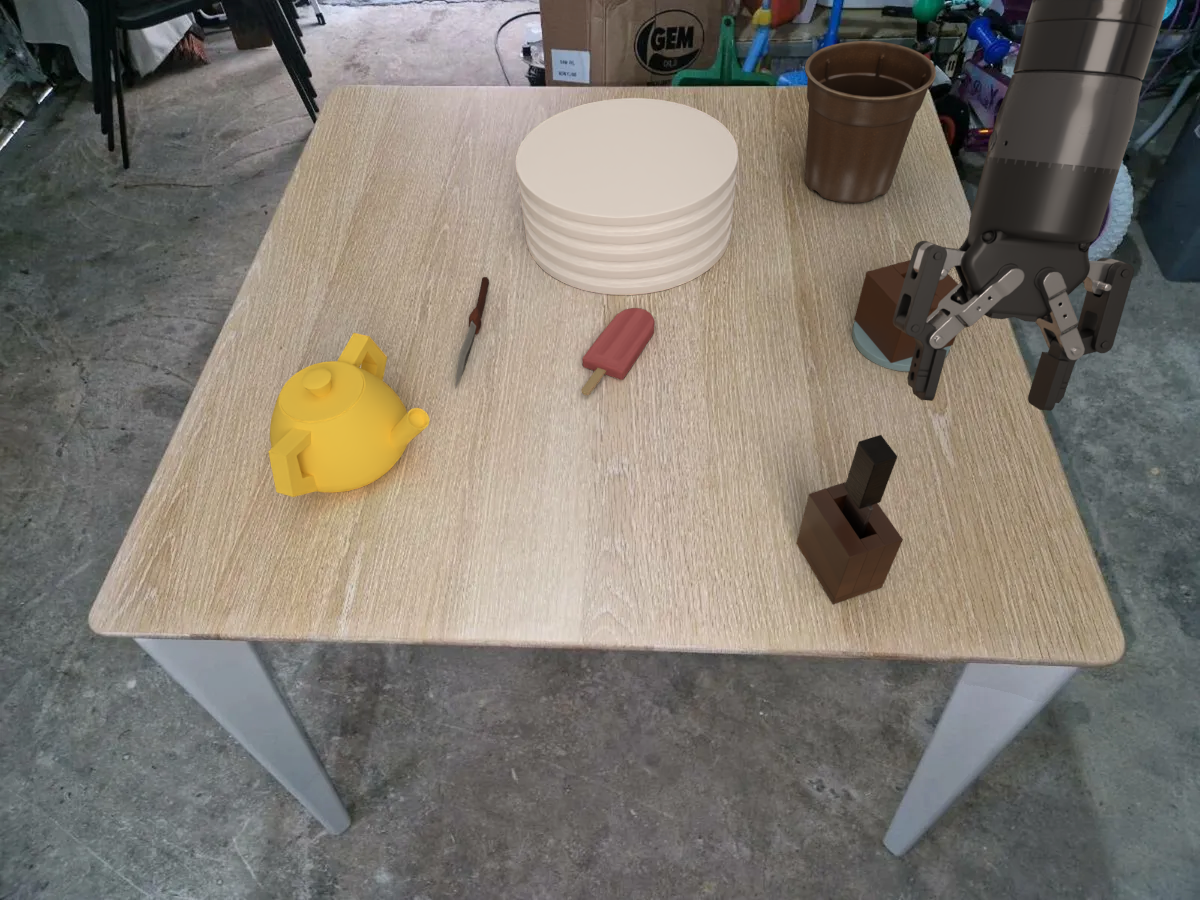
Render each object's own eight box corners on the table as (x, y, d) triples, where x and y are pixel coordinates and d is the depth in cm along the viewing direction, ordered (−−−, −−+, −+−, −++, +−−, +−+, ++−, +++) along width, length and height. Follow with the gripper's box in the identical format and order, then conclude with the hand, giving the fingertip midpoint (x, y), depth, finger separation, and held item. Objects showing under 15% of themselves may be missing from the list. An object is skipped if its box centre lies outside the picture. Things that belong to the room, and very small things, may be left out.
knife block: (842, 527, 77) (859, 477, 70) (881, 587, 72) (903, 539, 66) (795, 543, 76) (808, 493, 70) (832, 604, 71) (849, 557, 65)
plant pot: (783, 151, 120) (798, 40, 107) (892, 148, 119) (921, 36, 106) (795, 214, 109) (814, 99, 97) (915, 212, 108) (949, 96, 96)
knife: (463, 396, 90) (458, 377, 88) (449, 395, 91) (444, 376, 88) (495, 291, 102) (491, 272, 100) (483, 291, 102) (479, 272, 100)
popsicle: (562, 381, 89) (623, 302, 97) (564, 391, 90) (623, 311, 98) (605, 396, 87) (663, 314, 95) (605, 406, 88) (663, 324, 96)
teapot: (403, 545, 78) (373, 477, 69) (241, 509, 82) (194, 440, 73) (478, 400, 90) (460, 326, 81) (333, 374, 94) (302, 301, 85)
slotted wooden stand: (915, 298, 97) (932, 244, 91) (969, 356, 90) (993, 302, 84) (834, 321, 95) (847, 266, 89) (884, 382, 89) (901, 328, 82)
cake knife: (841, 543, 74) (879, 431, 62) (858, 569, 73) (900, 459, 60) (822, 549, 74) (856, 438, 62) (838, 575, 72) (876, 466, 60)
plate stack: (574, 321, 98) (566, 243, 89) (498, 205, 114) (485, 130, 105) (770, 255, 104) (781, 176, 95) (671, 155, 121) (673, 79, 112)
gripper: (969, 149, 46) (902, 413, 52) (1204, 172, 47) (1111, 429, 53) (917, 144, 53) (864, 378, 59) (1123, 165, 53) (1049, 393, 60)
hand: (981, 402), depth 56 cm, fingers open, 8 cm apart
